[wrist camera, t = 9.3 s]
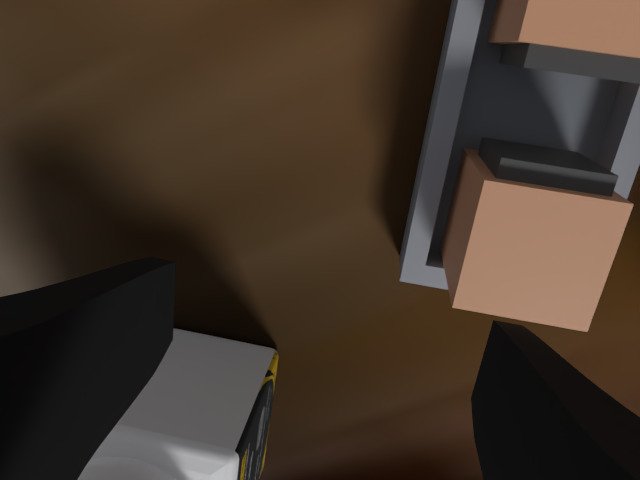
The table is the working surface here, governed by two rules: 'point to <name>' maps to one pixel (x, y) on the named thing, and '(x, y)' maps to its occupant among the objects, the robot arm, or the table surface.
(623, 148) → the grey rimmed tray
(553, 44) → the tan matte cube
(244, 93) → the table surface
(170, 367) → the medicine bottle
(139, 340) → the robot arm
